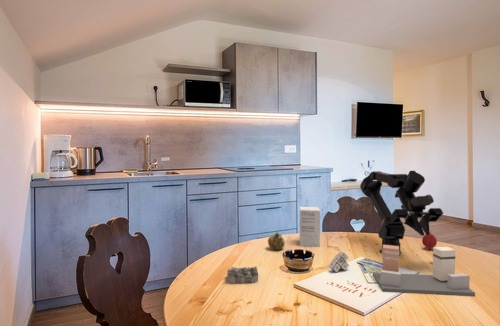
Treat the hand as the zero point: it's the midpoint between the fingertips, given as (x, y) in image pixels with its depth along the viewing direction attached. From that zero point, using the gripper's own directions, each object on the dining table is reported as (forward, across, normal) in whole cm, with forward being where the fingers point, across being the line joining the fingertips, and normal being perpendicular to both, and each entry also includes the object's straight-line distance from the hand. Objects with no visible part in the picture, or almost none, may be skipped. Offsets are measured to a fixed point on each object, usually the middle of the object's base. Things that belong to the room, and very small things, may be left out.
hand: (425, 235), depth 125 cm
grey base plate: (+17, -9, +2) cm, 19 cm away
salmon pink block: (+12, -16, +5) cm, 21 cm away
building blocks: (+5, -30, +15) cm, 34 cm away
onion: (-8, +20, +28) cm, 35 cm away
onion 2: (-15, -47, +35) cm, 61 cm away
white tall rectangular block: (+15, 0, +2) cm, 16 cm away
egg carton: (+8, -66, +12) cm, 68 cm away
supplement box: (-20, -30, +39) cm, 53 cm away
